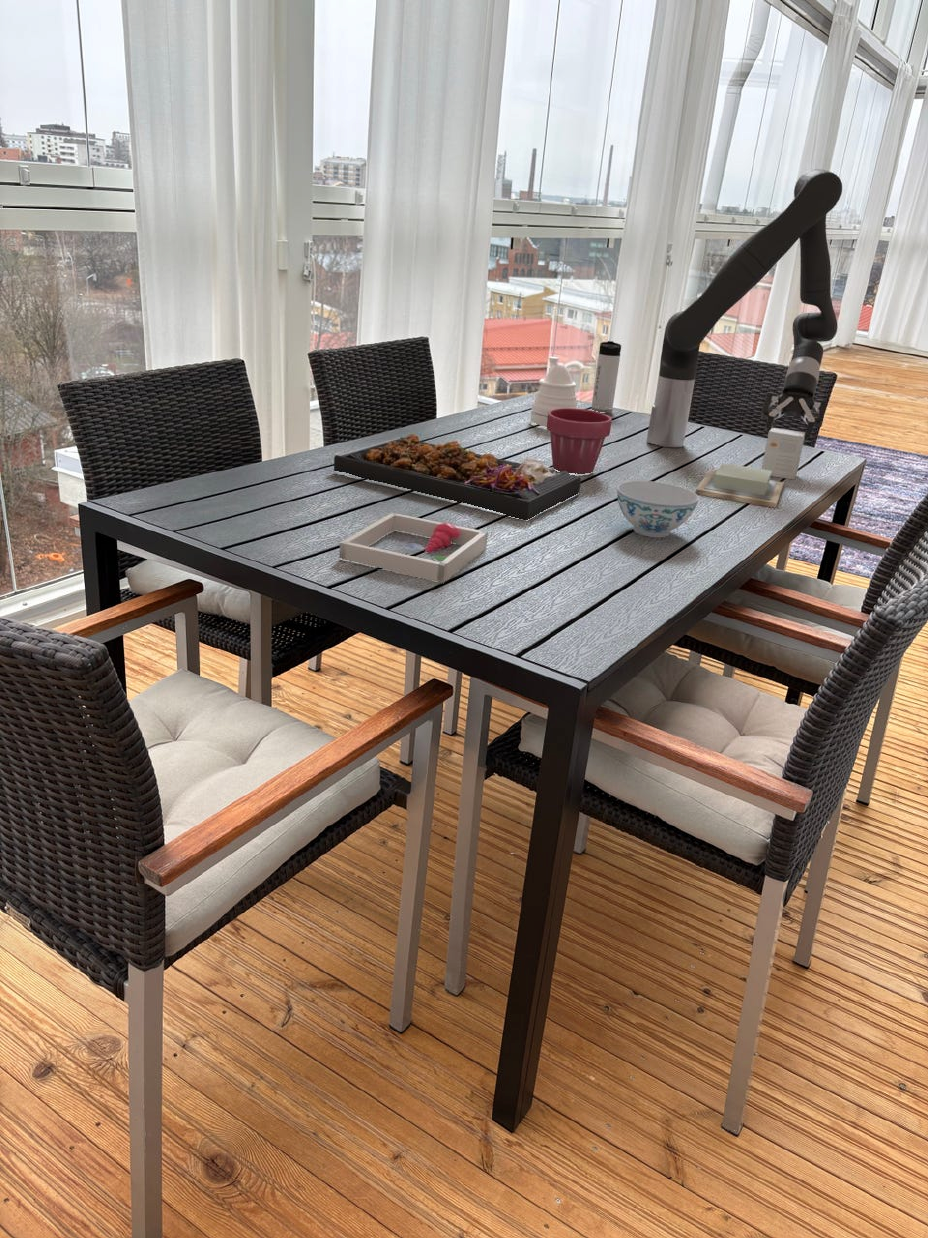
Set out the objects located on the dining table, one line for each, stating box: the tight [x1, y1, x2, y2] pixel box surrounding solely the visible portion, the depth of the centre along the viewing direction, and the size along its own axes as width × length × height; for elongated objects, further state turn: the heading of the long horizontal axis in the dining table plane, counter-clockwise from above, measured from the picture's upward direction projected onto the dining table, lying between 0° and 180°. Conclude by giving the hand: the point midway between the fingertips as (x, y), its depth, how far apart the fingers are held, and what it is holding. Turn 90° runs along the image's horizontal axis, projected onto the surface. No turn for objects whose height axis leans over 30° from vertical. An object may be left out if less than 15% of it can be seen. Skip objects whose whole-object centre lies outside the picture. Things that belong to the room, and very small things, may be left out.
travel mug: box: [590, 340, 622, 414], centre depth 279 cm, size 6×7×20 cm
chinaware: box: [616, 480, 700, 538], centre depth 177 cm, size 15×15×8 cm
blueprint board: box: [694, 469, 785, 509], centre depth 212 cm, size 17×20×1 cm
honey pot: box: [529, 356, 580, 427], centre depth 256 cm, size 13×13×18 cm
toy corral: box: [338, 512, 489, 584], centre depth 156 cm, size 18×19×3 cm
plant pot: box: [547, 408, 613, 474], centre depth 213 cm, size 14×14×13 cm
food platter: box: [333, 433, 582, 521], centre depth 196 cm, size 45×25×10 cm, turn 60°
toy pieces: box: [405, 522, 460, 561], centre depth 158 cm, size 12×11×4 cm
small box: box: [761, 427, 806, 480], centre depth 226 cm, size 8×6×10 cm
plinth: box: [713, 462, 772, 495], centre depth 211 cm, size 11×12×3 cm
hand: (787, 435), depth 227 cm, fingers closed on small box, 8 cm apart
